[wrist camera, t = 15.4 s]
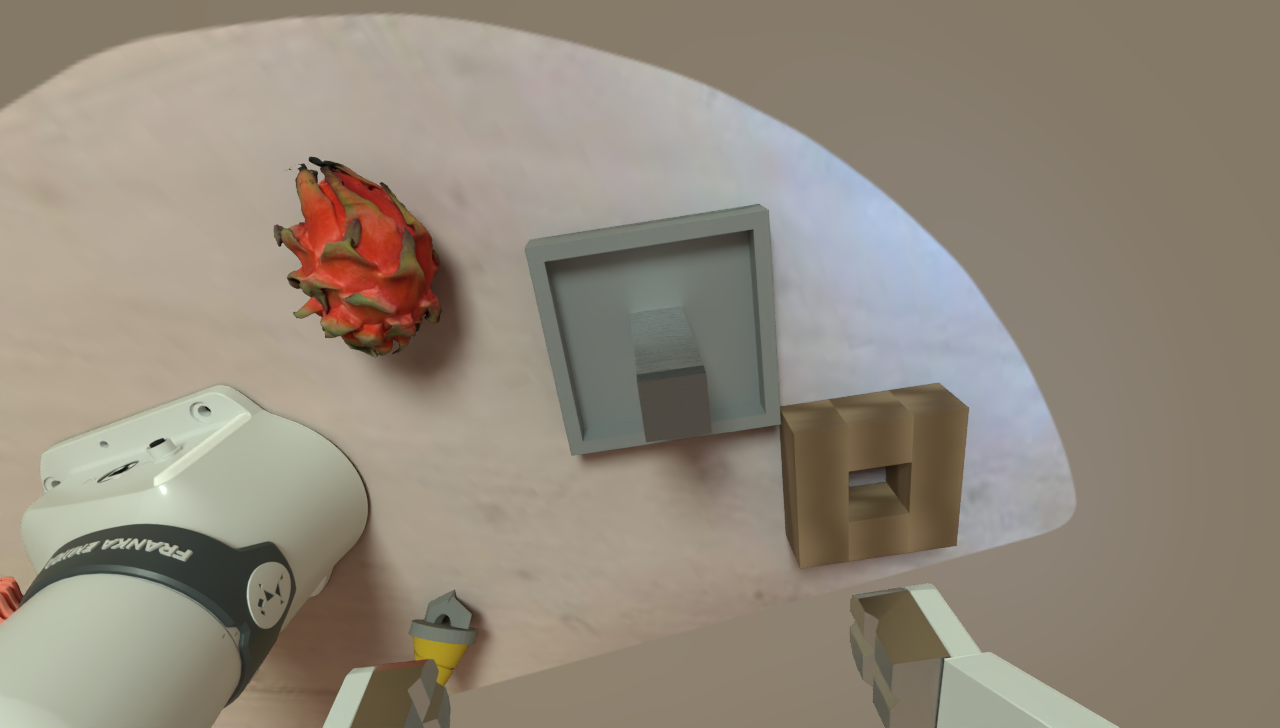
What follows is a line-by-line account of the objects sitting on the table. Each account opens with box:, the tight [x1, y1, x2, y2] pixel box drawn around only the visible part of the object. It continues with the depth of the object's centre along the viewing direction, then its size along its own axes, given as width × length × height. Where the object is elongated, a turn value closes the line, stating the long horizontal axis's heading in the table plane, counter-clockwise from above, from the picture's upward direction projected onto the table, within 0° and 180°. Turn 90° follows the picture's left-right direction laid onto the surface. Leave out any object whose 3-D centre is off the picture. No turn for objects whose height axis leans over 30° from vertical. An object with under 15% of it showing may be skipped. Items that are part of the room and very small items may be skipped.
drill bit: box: [409, 590, 478, 686], centre depth 48 cm, size 5×5×10 cm
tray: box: [525, 204, 781, 456], centre depth 40 cm, size 15×15×2 cm
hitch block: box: [780, 383, 969, 569], centre depth 44 cm, size 12×12×4 cm
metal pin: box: [630, 306, 712, 442], centre depth 35 cm, size 4×4×11 cm
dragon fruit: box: [274, 157, 442, 358], centre depth 35 cm, size 8×8×12 cm
